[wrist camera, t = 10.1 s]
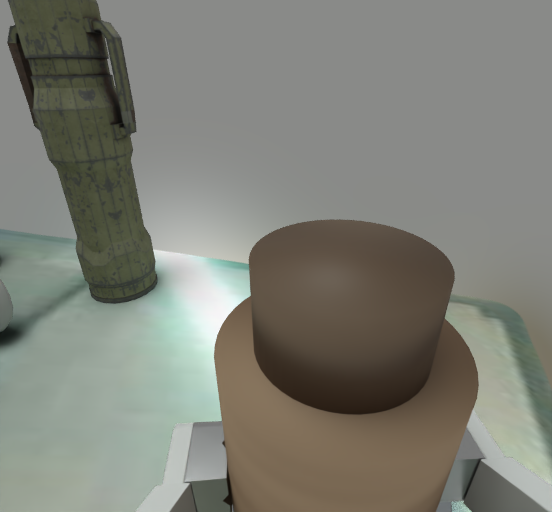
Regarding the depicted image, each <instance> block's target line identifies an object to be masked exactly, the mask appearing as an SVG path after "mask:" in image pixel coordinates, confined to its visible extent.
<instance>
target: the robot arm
mask: <svg viewBox="0 0 552 512" xmlns="http://www.w3.org/2000/svg"><path fill="white" fill-rule="evenodd" d="M455 501H464V502H463V503H464V504H465V505H466V506H467V507H468V508H469V509H470V510H471V511H472V512H552V485H551V484H549V483H548V482H546V481H545V480H544V479H542V478H541V477H539V476H538V475H536V474H535V473H534V472H532V471H531V470H529V469H528V468H526V467H525V466H524V465H522V464H521V463H519V462H518V461H516V460H515V459H513V458H512V457H505V455H504V454H503V452H502V451H501V449H500V448H499V446H498V445H497V443H496V442H495V440H494V439H493V437H492V436H491V435H490V433H489V432H488V430H487V429H486V427H485V426H484V424H483V423H482V421H481V420H480V418H479V417H478V415H477V414H476V412H475V411H474V410H472V413H471V416H470V419H469V422H468V424H467V427H466V430H465V433H464V435H463V438H462V441H461V444H460V447H459V449H458V452H457V455H456V458H455V460H454V463H453V466H452V469H451V471H450V474H449V477H448V480H447V483H446V485H445V488H444V491H443V494H442V496H441V499H440V502H455ZM135 512H232V496H231V488H230V480H229V472H228V464H227V456H226V448H225V440H224V432H223V424H222V421H216V422H193V423H178V424H176V425H175V427H174V429H173V433H172V438H171V443H170V447H169V452H168V457H167V462H166V467H165V471H164V476H163V481H162V485H156V486H155V487H154V488H153V490H152V491H151V492H150V493H149V495H148V496H147V497H146V498H145V500H144V501H143V502H142V503H141V504H140V506H139V507H138V508H137V509H136V511H135Z"/></svg>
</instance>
